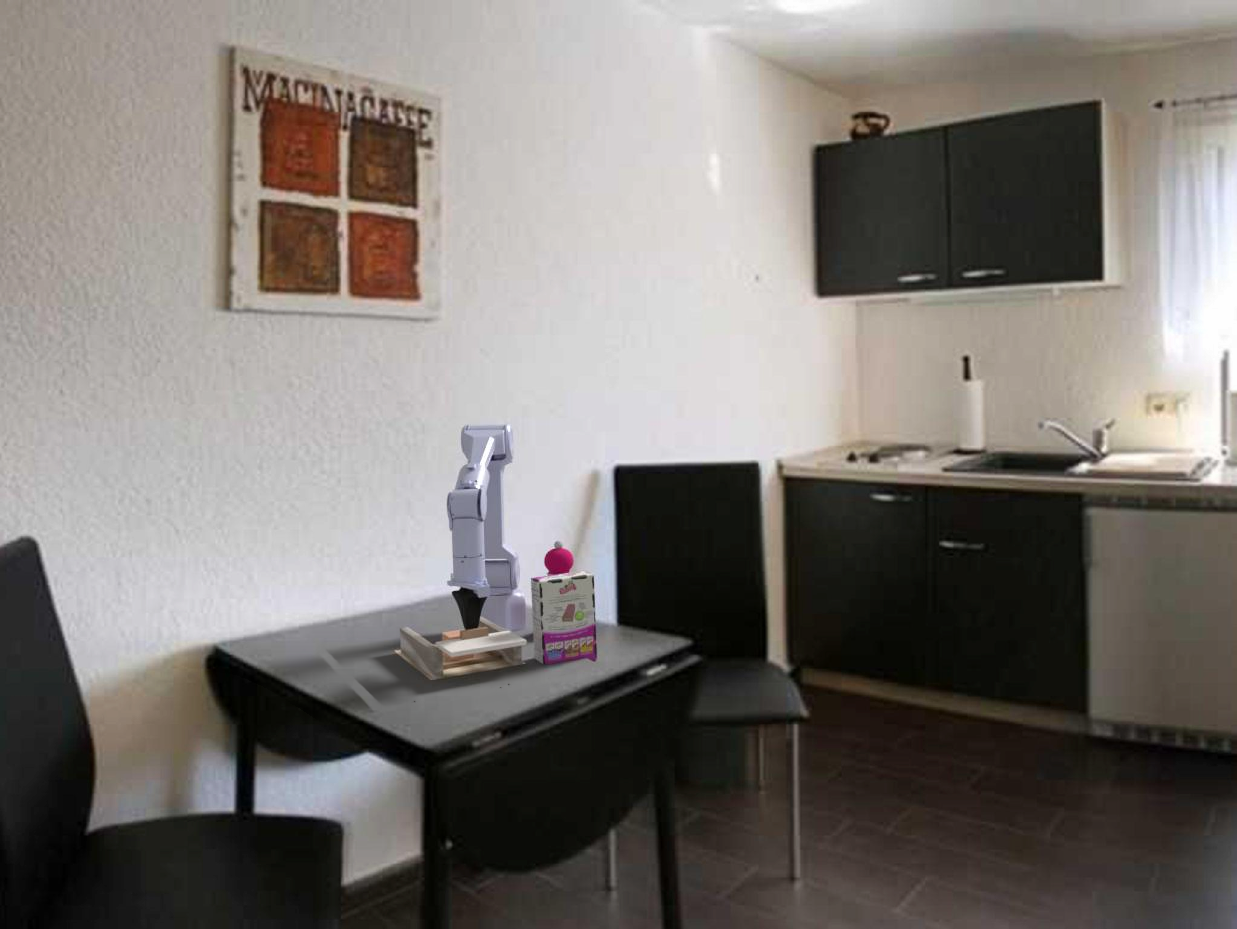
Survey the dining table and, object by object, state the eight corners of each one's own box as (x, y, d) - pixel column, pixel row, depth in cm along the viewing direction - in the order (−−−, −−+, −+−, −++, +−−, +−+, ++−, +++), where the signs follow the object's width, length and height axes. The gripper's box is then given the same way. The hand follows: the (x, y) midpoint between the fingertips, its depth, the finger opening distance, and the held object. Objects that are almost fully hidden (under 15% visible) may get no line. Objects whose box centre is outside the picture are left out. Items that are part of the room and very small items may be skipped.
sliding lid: (508, 634, 181) (508, 623, 181) (526, 644, 174) (526, 632, 174) (435, 646, 174) (435, 634, 174) (451, 657, 167) (450, 644, 167)
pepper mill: (543, 633, 205) (540, 538, 203) (577, 632, 205) (575, 537, 203) (543, 642, 197) (540, 544, 196) (579, 641, 198) (576, 543, 196)
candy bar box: (586, 654, 189) (584, 569, 187) (597, 660, 184) (595, 574, 183) (532, 663, 184) (529, 576, 182) (543, 669, 179) (540, 581, 178)
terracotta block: (465, 652, 188) (464, 629, 188) (473, 657, 184) (472, 634, 184) (442, 655, 186) (441, 632, 186) (450, 661, 182) (449, 637, 182)
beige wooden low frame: (481, 641, 199) (480, 613, 199) (526, 668, 180) (525, 637, 180) (394, 655, 190) (392, 626, 190) (431, 685, 171) (430, 652, 171)
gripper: (433, 551, 181) (436, 623, 182) (461, 563, 169) (464, 641, 170) (470, 547, 185) (472, 618, 186) (500, 559, 172) (502, 635, 173)
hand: (471, 629), depth 178 cm, fingers closed
